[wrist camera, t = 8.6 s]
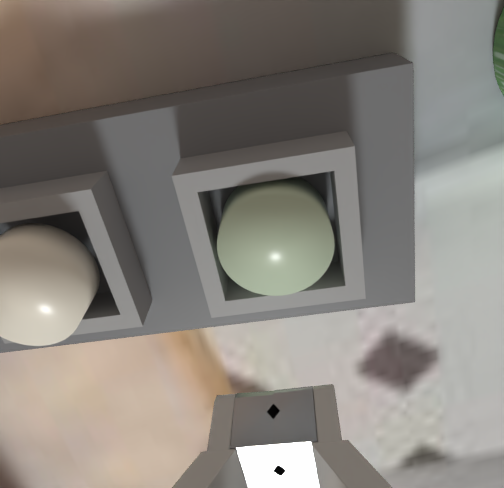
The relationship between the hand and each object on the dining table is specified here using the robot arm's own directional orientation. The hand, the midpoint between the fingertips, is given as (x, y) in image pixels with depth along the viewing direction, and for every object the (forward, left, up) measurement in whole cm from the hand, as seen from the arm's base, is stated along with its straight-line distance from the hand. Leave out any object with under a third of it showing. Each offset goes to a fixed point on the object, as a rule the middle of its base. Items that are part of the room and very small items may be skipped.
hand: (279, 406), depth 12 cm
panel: (+10, 0, -13) cm, 16 cm away
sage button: (0, 0, -10) cm, 10 cm away
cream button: (+10, 0, -8) cm, 13 cm away
